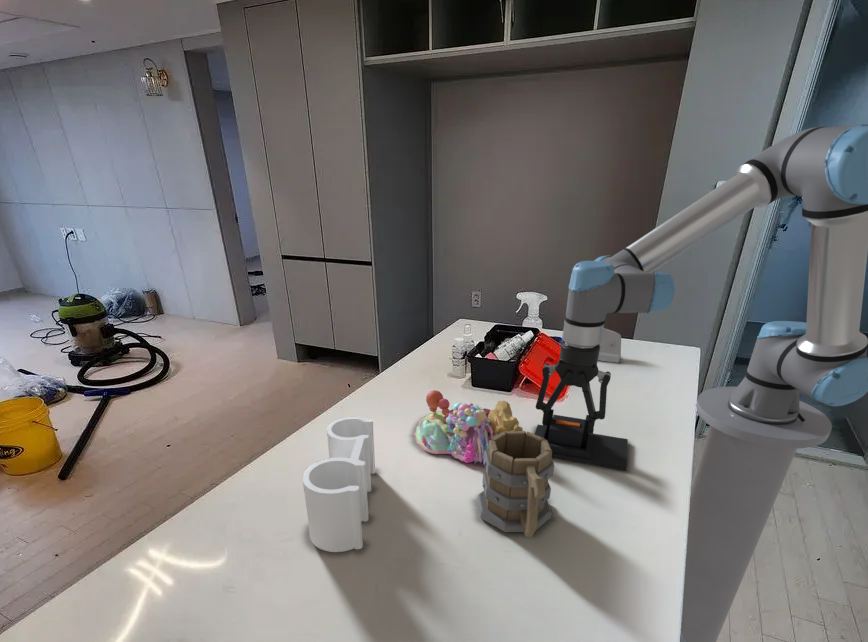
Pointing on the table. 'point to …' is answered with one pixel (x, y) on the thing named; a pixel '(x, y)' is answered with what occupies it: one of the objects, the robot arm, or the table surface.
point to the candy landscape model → (462, 428)
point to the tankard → (516, 482)
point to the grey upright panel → (610, 346)
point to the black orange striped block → (566, 431)
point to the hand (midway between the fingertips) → (565, 440)
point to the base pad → (592, 450)
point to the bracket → (341, 486)
